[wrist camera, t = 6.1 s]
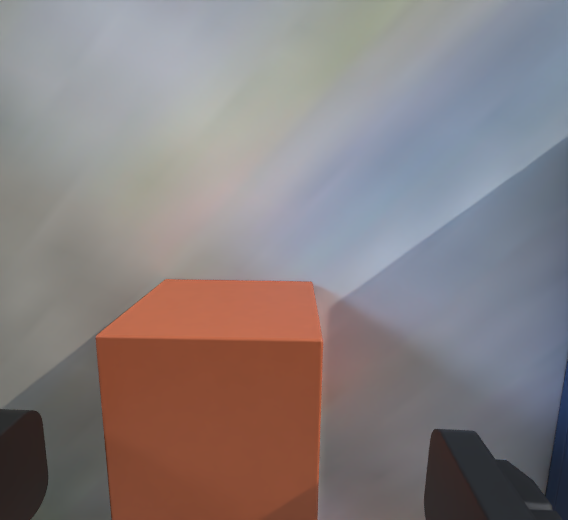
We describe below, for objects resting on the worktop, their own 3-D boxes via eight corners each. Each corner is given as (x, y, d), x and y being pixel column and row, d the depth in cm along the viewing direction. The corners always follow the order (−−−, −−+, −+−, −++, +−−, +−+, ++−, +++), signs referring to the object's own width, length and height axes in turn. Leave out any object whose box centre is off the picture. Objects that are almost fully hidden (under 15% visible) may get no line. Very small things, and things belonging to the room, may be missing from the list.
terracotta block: (171, 412, 13) (111, 529, 9) (164, 279, 12) (94, 335, 8) (308, 415, 13) (317, 534, 9) (312, 281, 12) (323, 339, 8)
